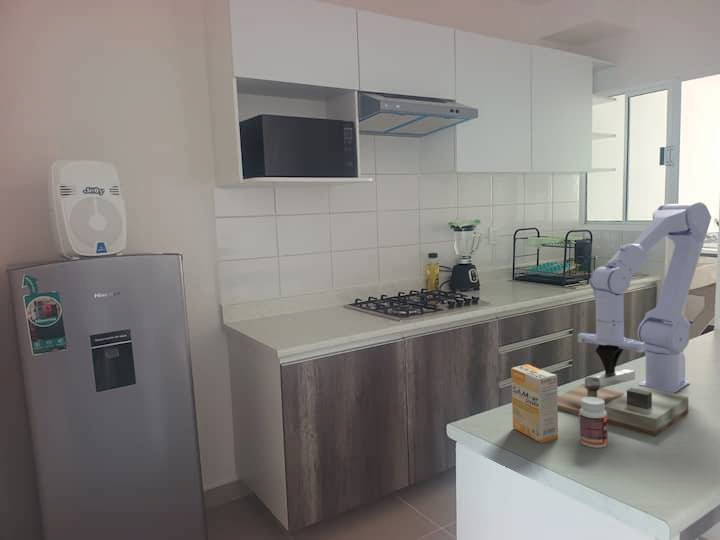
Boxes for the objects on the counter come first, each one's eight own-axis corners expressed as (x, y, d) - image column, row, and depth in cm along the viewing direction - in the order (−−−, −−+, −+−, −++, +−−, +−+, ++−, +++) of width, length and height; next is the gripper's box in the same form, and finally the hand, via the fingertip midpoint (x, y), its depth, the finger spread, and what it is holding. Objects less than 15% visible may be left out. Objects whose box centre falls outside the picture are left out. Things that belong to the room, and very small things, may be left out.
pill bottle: (610, 448, 94) (610, 405, 93) (583, 448, 95) (582, 404, 94) (603, 437, 99) (603, 395, 98) (577, 436, 100) (576, 395, 99)
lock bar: (592, 391, 112) (592, 382, 112) (581, 387, 115) (581, 378, 115) (636, 379, 117) (636, 371, 117) (625, 376, 120) (625, 368, 120)
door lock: (583, 387, 125) (582, 362, 125) (688, 412, 107) (688, 382, 107) (546, 406, 116) (546, 378, 115) (655, 436, 98) (655, 404, 97)
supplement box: (511, 429, 105) (509, 367, 104) (530, 423, 107) (528, 363, 106) (540, 444, 98) (538, 378, 96) (559, 438, 99) (558, 373, 98)
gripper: (570, 318, 120) (571, 374, 121) (634, 327, 108) (635, 388, 110) (586, 313, 124) (587, 367, 126) (649, 321, 112) (649, 380, 114)
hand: (610, 376), depth 118 cm, fingers closed, pressing on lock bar
